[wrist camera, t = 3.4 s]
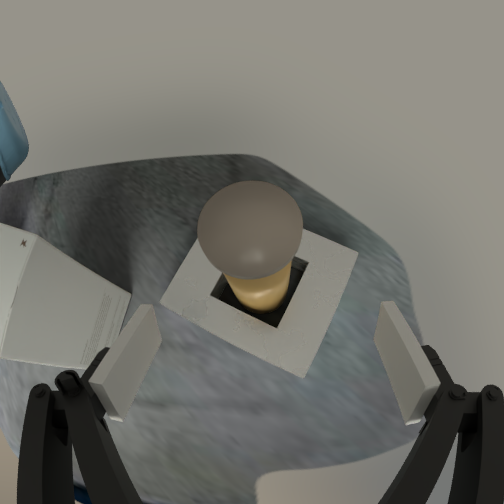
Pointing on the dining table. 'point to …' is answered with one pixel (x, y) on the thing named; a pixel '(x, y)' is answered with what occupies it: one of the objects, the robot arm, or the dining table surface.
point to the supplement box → (53, 304)
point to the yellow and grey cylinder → (252, 241)
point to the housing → (253, 330)
